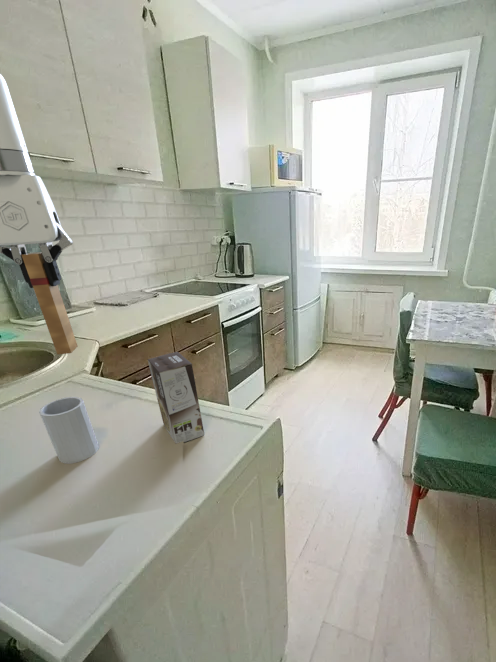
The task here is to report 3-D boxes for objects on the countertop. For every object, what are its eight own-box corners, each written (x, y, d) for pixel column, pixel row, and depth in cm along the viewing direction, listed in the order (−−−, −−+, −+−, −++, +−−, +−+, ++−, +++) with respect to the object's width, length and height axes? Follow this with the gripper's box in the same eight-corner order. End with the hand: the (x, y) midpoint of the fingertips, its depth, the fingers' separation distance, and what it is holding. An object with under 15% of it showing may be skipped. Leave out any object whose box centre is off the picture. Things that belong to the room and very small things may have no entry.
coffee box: (206, 435, 73) (193, 363, 66) (175, 446, 70) (158, 372, 63) (191, 416, 80) (178, 350, 73) (163, 426, 77) (146, 357, 70)
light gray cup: (50, 463, 67) (29, 413, 62) (80, 441, 73) (62, 395, 68) (80, 468, 65) (60, 417, 61) (107, 446, 71) (91, 398, 67)
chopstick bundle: (56, 354, 67) (20, 254, 59) (64, 347, 71) (31, 252, 63) (71, 353, 68) (37, 253, 60) (78, 346, 71) (47, 251, 63)
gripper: (-71, 165, 51) (-16, 294, 59) (52, 162, 54) (88, 285, 62) (-40, 171, 57) (6, 286, 66) (68, 168, 60) (98, 278, 68)
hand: (45, 284), depth 64 cm, fingers closed on chopstick bundle, 2 cm apart
